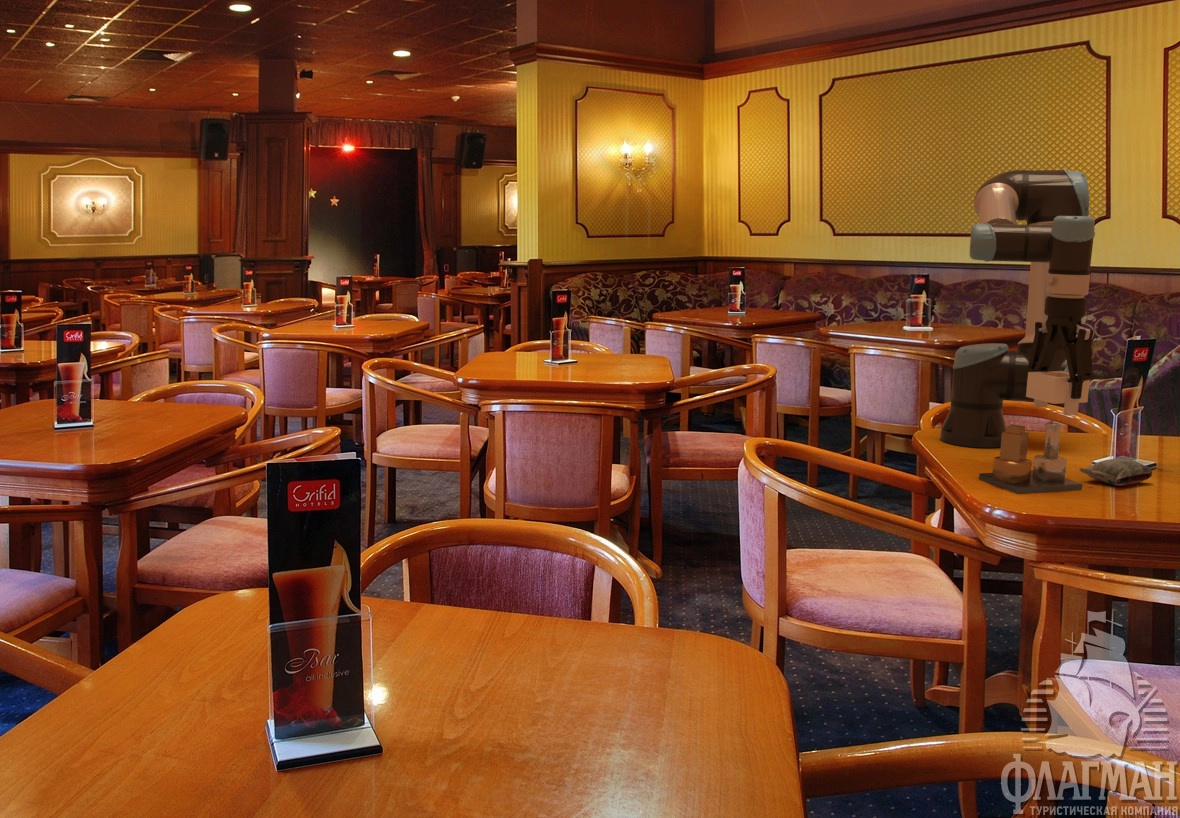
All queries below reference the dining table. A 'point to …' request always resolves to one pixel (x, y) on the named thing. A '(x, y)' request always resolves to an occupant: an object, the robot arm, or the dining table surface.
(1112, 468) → the packaged food
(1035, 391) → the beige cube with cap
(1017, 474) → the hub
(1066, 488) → the jig plate
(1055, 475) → the stand
